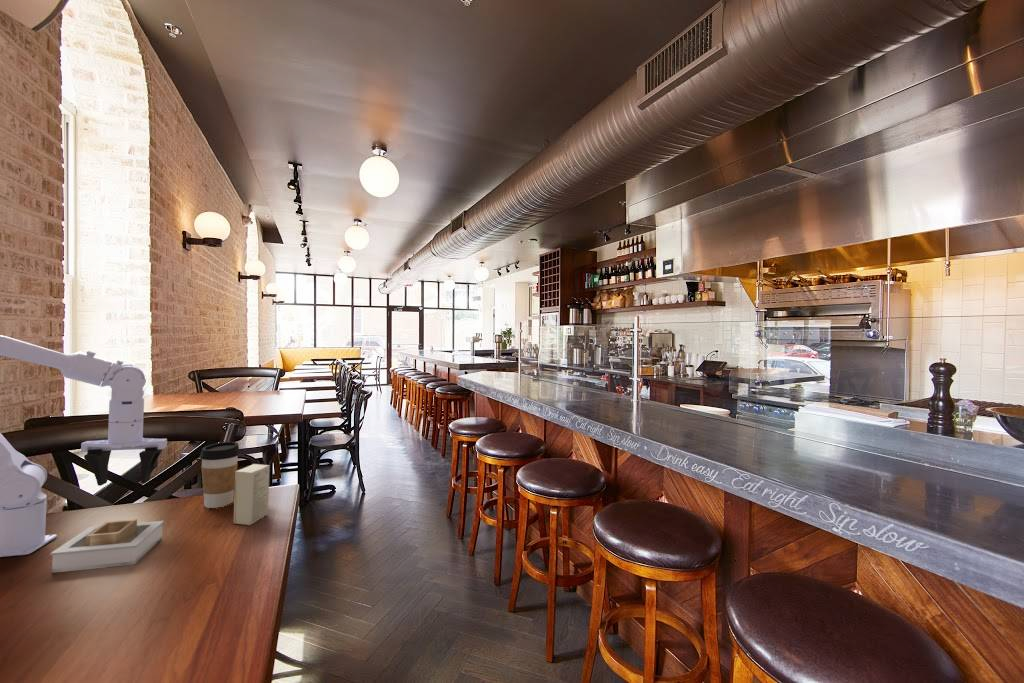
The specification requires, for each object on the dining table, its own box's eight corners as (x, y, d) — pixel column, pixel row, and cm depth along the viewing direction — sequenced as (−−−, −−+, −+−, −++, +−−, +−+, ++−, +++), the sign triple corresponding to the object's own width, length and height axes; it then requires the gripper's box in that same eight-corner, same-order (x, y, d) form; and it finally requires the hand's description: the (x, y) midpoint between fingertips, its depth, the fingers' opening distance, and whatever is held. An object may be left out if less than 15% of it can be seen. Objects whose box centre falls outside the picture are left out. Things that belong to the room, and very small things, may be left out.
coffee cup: (246, 501, 113) (248, 443, 113) (214, 513, 105) (216, 450, 105) (222, 496, 116) (224, 440, 116) (189, 507, 108) (191, 446, 108)
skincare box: (252, 513, 106) (254, 463, 106) (269, 515, 105) (270, 464, 105) (232, 524, 99) (234, 470, 99) (249, 526, 99) (251, 472, 99)
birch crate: (85, 560, 81) (86, 535, 81) (105, 544, 87) (106, 521, 87) (118, 557, 82) (119, 533, 82) (136, 541, 88) (137, 519, 88)
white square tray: (49, 573, 77) (50, 553, 77) (89, 544, 88) (90, 526, 88) (135, 564, 81) (136, 545, 81) (163, 537, 92) (163, 520, 92)
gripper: (72, 425, 89) (70, 491, 89) (157, 423, 94) (155, 486, 94) (93, 418, 96) (91, 480, 96) (171, 417, 101) (169, 476, 101)
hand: (124, 482), depth 95 cm, fingers open, 7 cm apart
